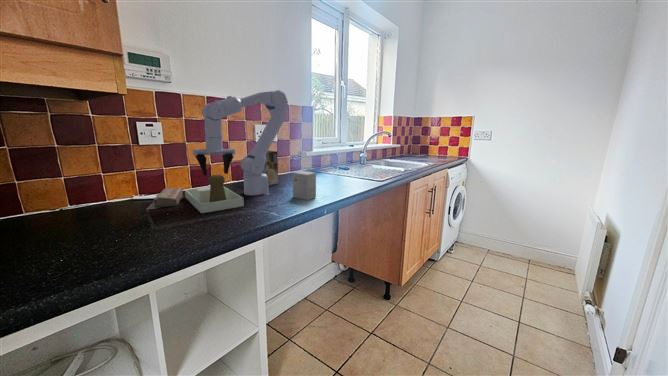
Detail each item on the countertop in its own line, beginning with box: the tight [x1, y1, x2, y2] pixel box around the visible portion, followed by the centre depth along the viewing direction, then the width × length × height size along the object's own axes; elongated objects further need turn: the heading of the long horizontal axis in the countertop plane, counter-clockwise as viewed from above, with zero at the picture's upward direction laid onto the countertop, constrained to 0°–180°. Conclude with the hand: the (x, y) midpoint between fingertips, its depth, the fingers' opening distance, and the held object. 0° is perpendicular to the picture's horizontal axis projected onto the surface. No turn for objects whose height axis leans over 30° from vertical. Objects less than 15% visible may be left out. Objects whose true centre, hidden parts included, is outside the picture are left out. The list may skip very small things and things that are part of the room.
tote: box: [184, 186, 245, 214], centre depth 102 cm, size 14×22×4 cm, turn 39°
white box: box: [194, 185, 210, 202], centre depth 105 cm, size 8×6×4 cm
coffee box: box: [262, 150, 279, 187], centre depth 134 cm, size 9×6×16 cm
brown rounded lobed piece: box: [207, 174, 226, 202], centre depth 95 cm, size 6×6×11 cm
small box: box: [292, 170, 317, 201], centre depth 114 cm, size 8×6×10 cm
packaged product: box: [146, 186, 184, 213], centre depth 101 cm, size 18×5×10 cm
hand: (215, 174), depth 104 cm, fingers open, 7 cm apart
